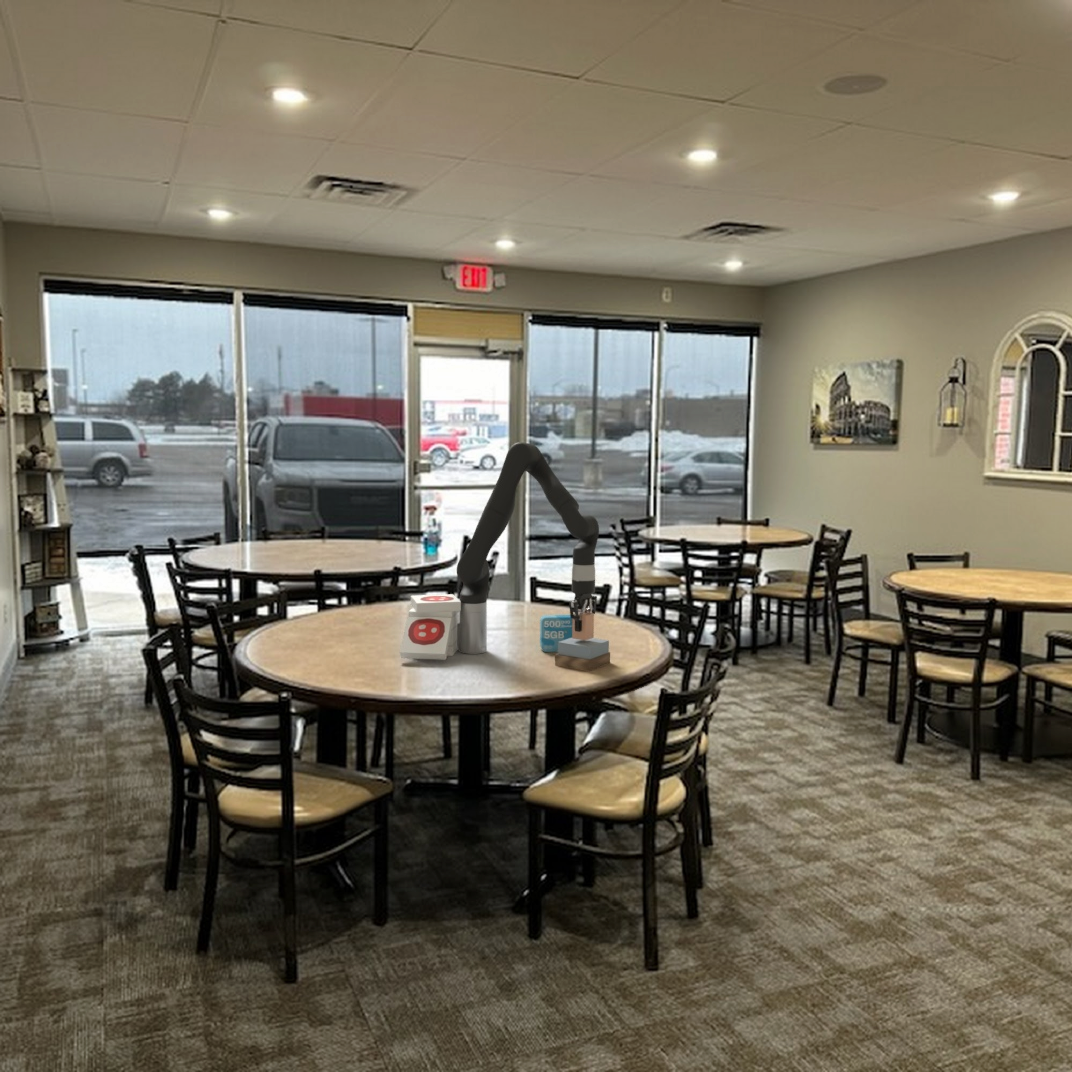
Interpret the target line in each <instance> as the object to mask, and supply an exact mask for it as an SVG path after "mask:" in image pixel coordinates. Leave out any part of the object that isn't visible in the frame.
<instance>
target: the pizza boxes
mask: <svg viewBox="0 0 1072 1072" xmlns="http://www.w3.org/2000/svg"><path fill="white" fill-rule="evenodd" d="M410 606H411V607H412V608H411V609H409V610H408V612H407V613H408V616H407V617H406V621H405V622H406V623H405V626H404V629H403V630H404V631H403V634H402V639H401V640H402V641H401V645H400V649H399V655H400V659H409V660H410V659H412V660H413V659H414V660H415V659H416V660H447V657H453V656H454V654H455V653H456V652H457V624H458V623H460V611H461V601H460V598H458V597H456V596H455V595H454V594H453V593H450V594H446V593H445V594H425V595H423V594H421V595H417V594H416V595H410Z"/></svg>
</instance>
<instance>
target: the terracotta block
mask: <svg viewBox="0 0 1072 1072" xmlns="http://www.w3.org/2000/svg"><path fill="white" fill-rule="evenodd" d="M579 614H580V613H579ZM573 615H574V613H573ZM581 620H582V631H580V632H577V631H575V620H574V619H573V625H572V638H573V639H580V640H588V639H591V638H595V637H594V636H595V635H594V633H595V631H594V630H595V629H594V628H595V627H594V626H595V625H594V624H595V614H594V613H588V612H584V614H583V615H582V619H581Z"/></svg>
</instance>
